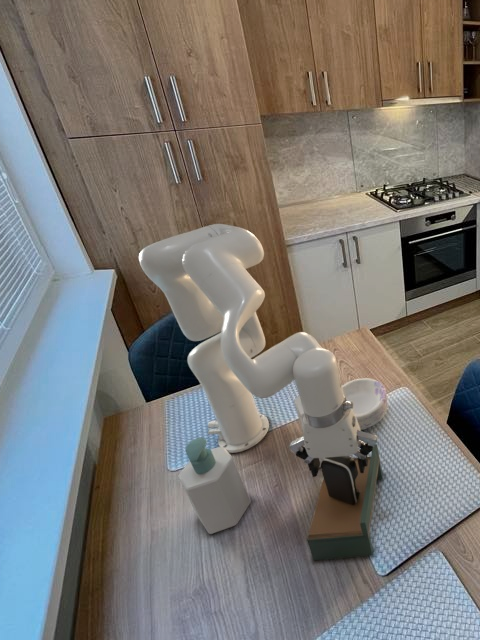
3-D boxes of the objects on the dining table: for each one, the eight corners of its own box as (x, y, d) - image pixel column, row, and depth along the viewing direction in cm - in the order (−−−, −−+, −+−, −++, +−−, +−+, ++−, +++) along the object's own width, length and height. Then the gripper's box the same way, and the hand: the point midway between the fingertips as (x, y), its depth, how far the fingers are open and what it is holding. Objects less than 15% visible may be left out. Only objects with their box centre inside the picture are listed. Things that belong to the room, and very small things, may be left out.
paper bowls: (400, 413, 117) (397, 393, 113) (355, 448, 106) (351, 427, 103) (368, 389, 126) (364, 369, 122) (324, 419, 116) (319, 398, 112)
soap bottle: (196, 540, 87) (160, 472, 77) (204, 501, 95) (171, 435, 85) (249, 521, 90) (220, 453, 81) (252, 485, 98) (226, 420, 88)
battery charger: (364, 490, 88) (357, 455, 84) (355, 507, 85) (346, 470, 80) (338, 481, 91) (329, 445, 86) (327, 496, 87) (317, 461, 83)
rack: (313, 560, 83) (302, 527, 78) (333, 479, 99) (325, 447, 94) (372, 555, 83) (365, 522, 78) (382, 475, 99) (377, 443, 95)
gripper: (373, 391, 81) (383, 450, 88) (286, 397, 80) (303, 456, 87) (368, 421, 74) (379, 482, 82) (272, 428, 73) (292, 489, 81)
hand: (340, 468), depth 84 cm, fingers open, 9 cm apart
